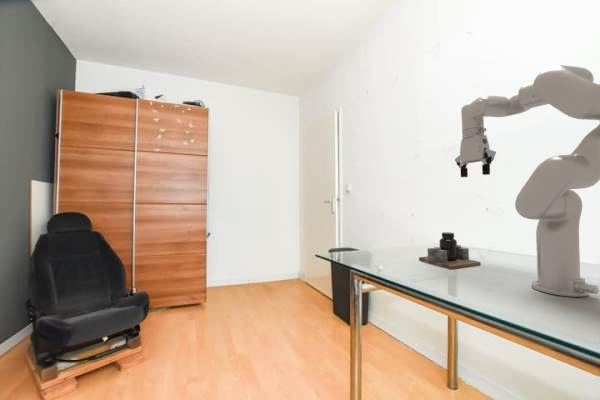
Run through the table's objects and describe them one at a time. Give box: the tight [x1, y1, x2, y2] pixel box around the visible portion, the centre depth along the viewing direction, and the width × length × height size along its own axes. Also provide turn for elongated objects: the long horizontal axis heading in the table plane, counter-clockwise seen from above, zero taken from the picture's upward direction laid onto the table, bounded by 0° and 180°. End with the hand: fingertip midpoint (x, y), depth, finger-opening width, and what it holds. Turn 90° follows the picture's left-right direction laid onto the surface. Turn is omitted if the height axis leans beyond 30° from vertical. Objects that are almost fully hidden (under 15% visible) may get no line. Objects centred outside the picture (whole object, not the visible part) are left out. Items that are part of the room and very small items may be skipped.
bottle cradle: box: [418, 244, 481, 270], centre depth 120 cm, size 18×16×8 cm
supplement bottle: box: [439, 231, 458, 261], centre depth 120 cm, size 7×7×12 cm
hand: (474, 175), depth 110 cm, fingers open, 9 cm apart
